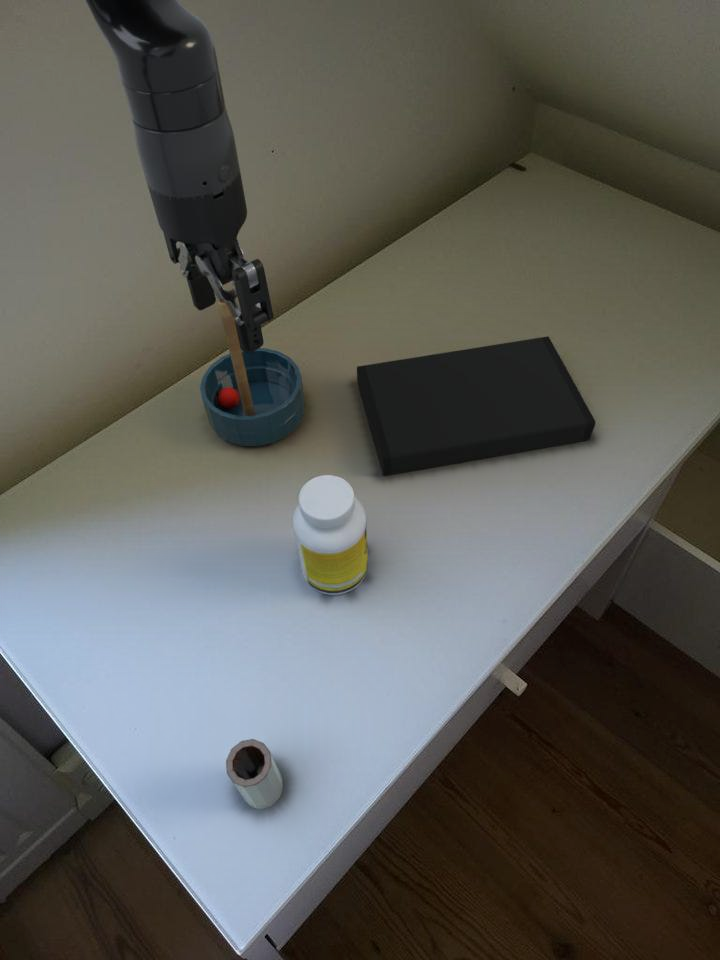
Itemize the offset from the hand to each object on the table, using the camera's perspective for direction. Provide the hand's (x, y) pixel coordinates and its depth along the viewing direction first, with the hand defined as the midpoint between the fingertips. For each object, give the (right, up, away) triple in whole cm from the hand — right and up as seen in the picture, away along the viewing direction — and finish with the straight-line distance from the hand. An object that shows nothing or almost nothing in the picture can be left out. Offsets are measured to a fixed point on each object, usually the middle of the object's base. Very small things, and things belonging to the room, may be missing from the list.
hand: (228, 326), depth 68 cm
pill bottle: (+11, -24, -1) cm, 26 cm away
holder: (+5, -40, -13) cm, 42 cm away
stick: (0, -8, +10) cm, 13 cm away
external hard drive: (+25, -7, +11) cm, 28 cm away
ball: (-2, -6, +10) cm, 12 cm away
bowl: (+1, -7, +11) cm, 14 cm away
